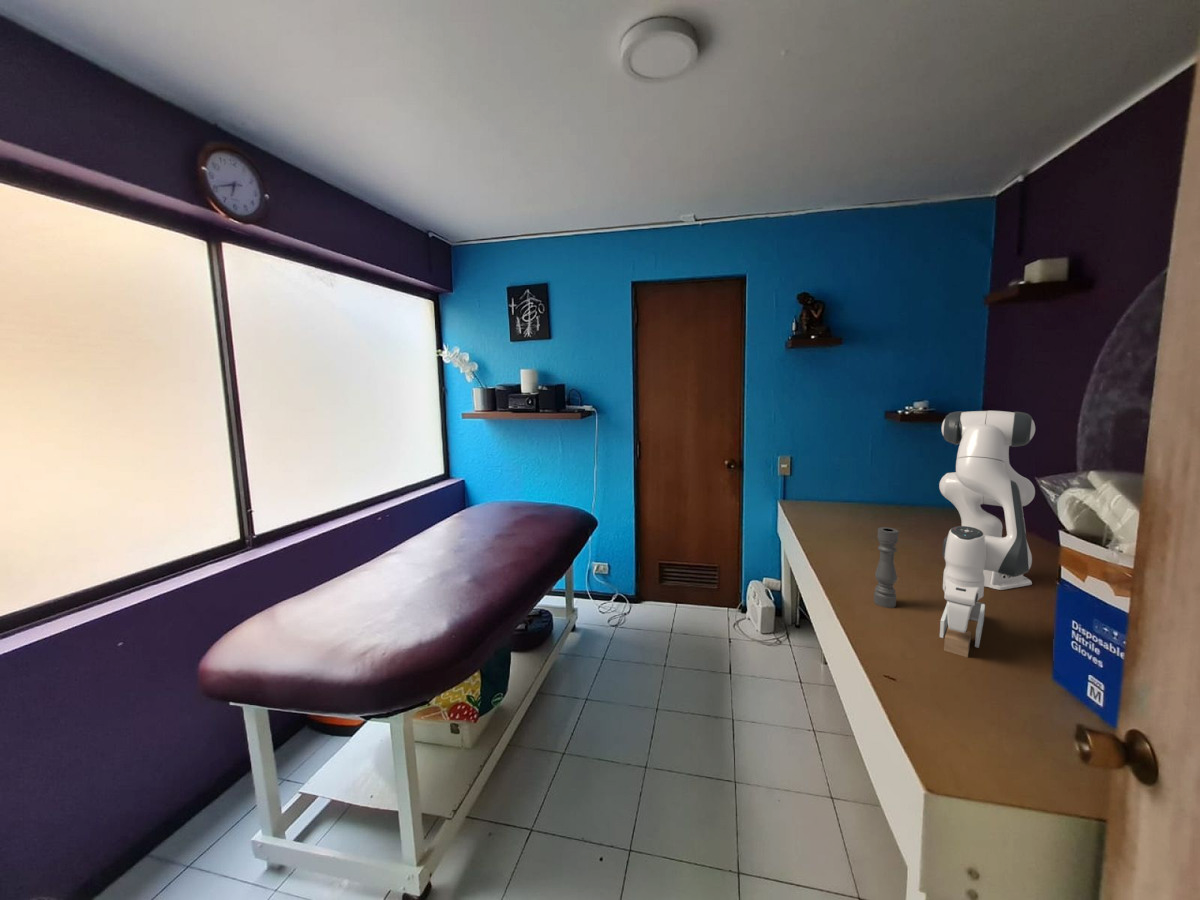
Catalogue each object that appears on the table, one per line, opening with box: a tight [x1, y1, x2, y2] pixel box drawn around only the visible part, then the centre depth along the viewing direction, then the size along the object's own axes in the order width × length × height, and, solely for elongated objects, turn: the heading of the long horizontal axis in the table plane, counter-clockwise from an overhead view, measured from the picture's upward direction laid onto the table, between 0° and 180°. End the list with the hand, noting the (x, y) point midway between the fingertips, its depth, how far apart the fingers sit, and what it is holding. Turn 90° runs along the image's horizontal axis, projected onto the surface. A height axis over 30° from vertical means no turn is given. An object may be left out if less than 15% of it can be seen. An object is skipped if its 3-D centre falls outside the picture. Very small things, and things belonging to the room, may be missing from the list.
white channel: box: [939, 601, 986, 648], centre depth 134 cm, size 20×9×5 cm, turn 137°
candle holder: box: [873, 526, 900, 609], centre depth 149 cm, size 6×6×25 cm
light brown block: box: [943, 625, 972, 658], centre depth 124 cm, size 7×5×4 cm
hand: (959, 633), depth 128 cm, fingers closed
